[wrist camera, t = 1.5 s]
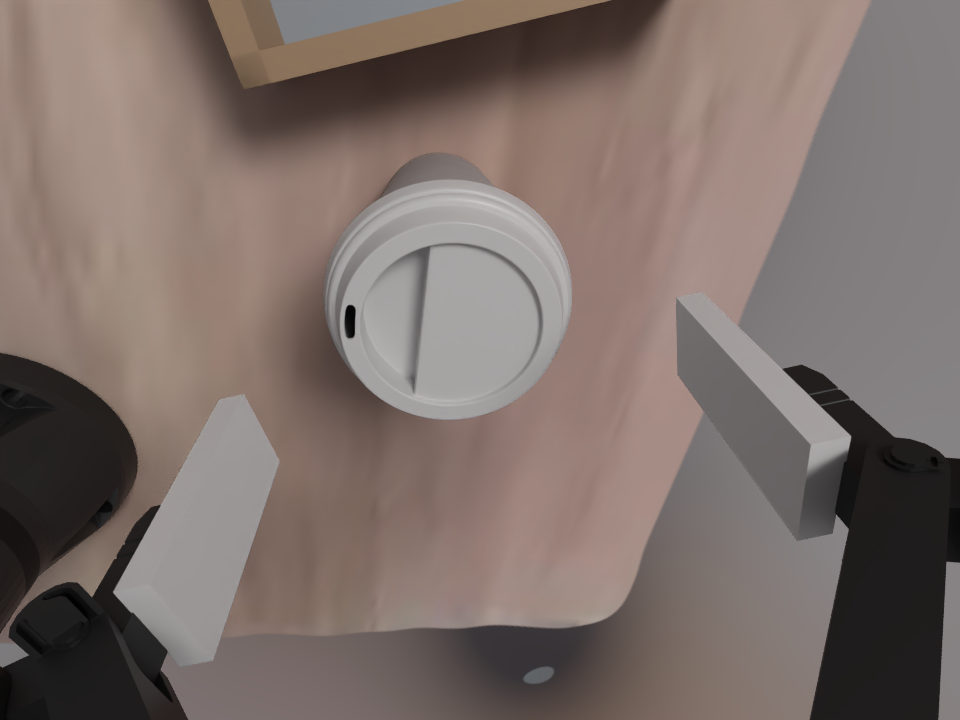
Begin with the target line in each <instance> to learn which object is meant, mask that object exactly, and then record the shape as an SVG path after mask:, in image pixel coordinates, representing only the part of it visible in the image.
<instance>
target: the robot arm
mask: <svg viewBox="0 0 960 720" xmlns="http://www.w3.org/2000/svg"><path fill="white" fill-rule="evenodd" d="M676 320H677V369H678V376H679V377H680V379H681V380H682V381H683V383H684V384H685V386H686V387H687V388H688V390H689V391H690V393H691V394H692V395H693V397H694V398H695V400H696V401H697V402H698V404H699V405H700V406H701V408H702V409H703V411H704V412H705V413H706V415H707V416H708V418H709V419H710V420H711V422H712V423H713V425H714V426H715V427H716V429H717V430H718V432H719V433H720V434H721V436H722V437H723V438H724V440H725V441H726V443H727V444H728V445H729V447H730V448H731V449H732V451H733V452H734V454H735V455H736V456H737V458H738V459H739V461H740V462H741V463H742V465H743V466H744V468H745V469H746V471H747V472H748V473H749V475H750V476H751V477H752V479H753V480H754V482H755V483H756V484H757V486H758V487H759V489H760V490H761V491H762V493H763V494H764V495H765V497H766V498H767V500H768V501H769V502H770V504H771V505H772V507H773V508H774V509H775V511H776V512H777V514H778V515H779V516H780V518H781V519H782V520H783V522H784V523H785V525H786V526H787V528H788V529H789V530H790V532H791V533H792V535H793V536H794V537H795V539H796V540H797V541H798V540H803V539H808V538H813V537H818V536H822V535H827V534H832V533H833V528H834V523H835V518H836V514H837V516H838V517H839V518H840V519H841V520H842V521H843V523H844V524H845V525H846V526H847V527H848V528H849V532H848V537H847V541H846V546H845V550H844V555H843V559H842V565H841V571H840V575H839V580H838V585H837V590H836V595H835V600H834V604H833V609H832V614H831V619H830V624H829V628H828V633H827V638H826V643H825V648H824V653H823V658H822V662H821V667H820V672H819V677H818V682H817V687H816V692H815V697H814V701H813V706H812V711H811V716H810V720H938V713H939V695H940V675H941V656H942V636H943V617H944V616H943V615H944V597H945V578H946V562H959V563H960V459H956V458H945V457H944V456H943V455H942V454H941V453H940V452H939V451H937V450H936V449H934V448H932V447H930V446H928V445H927V444H925V443H921V442H918V441H915V440H911V439H905V438H895V437H893V436H892V435H891V434H890V433H889V432H888V431H887V430H886V429H884V428H883V427H882V426H881V425H880V424H879V423H878V422H877V421H875V420H874V419H873V418H872V417H871V416H870V415H869V414H867V413H866V412H865V411H864V410H863V409H862V408H860V406H858V405H857V404H856V403H855V402H854V401H850V399H849V397H848V396H847V395H846V394H845V393H843V392H842V391H841V390H838V388H837V386H836V385H835V384H833V383H832V382H831V381H830V380H829V379H828V378H827V377H825V376H824V375H823V374H821V373H819V372H817V371H815V370H812V369H810V368H808V367H806V366H803V365H798V366H794V367H789V368H784V369H781V368H780V367H779V366H778V365H777V364H776V363H775V362H774V361H773V360H772V359H771V358H770V357H769V356H768V355H767V354H766V353H765V352H764V351H763V350H762V349H761V348H760V347H759V346H757V345H756V344H755V343H754V342H753V341H752V340H751V339H750V338H749V337H748V336H747V335H746V334H745V333H744V332H743V331H742V330H741V329H740V328H739V327H738V326H737V325H736V324H735V323H734V322H733V321H732V320H731V319H730V318H729V317H728V316H727V315H725V314H724V313H723V312H722V311H721V310H720V309H719V308H718V307H717V306H716V305H715V304H714V303H713V302H712V301H711V300H710V299H709V298H708V297H707V296H706V295H705V294H704V293H703V292H699V293H694V294H690V295H685V296H681V297H676ZM279 462H280V461H279V459H278V457H277V455H276V453H275V451H274V450H273V448H272V446H271V444H270V442H269V440H268V438H267V436H266V435H265V433H264V431H263V429H262V427H261V425H260V423H259V422H258V420H257V418H256V416H255V414H254V412H253V410H252V408H251V407H250V405H249V403H248V401H247V399H246V397H245V395H244V394H242V395H237V396H233V397H228V398H224V399H219V401H218V403H217V405H216V406H215V408H214V410H213V412H212V414H211V415H210V417H209V419H208V421H207V423H206V425H205V426H204V428H203V430H202V432H201V434H200V435H199V437H198V439H197V441H196V443H195V444H194V446H193V448H192V450H191V452H190V454H189V455H188V457H187V459H186V461H185V463H184V464H183V466H182V468H181V470H180V472H179V474H178V475H177V477H176V479H175V481H174V483H173V484H172V486H171V488H170V490H169V492H168V493H167V495H166V497H165V499H164V501H163V503H162V504H161V505H158V506H154V507H151V508H150V509H149V510H148V511H147V512H146V513H145V514H144V515H143V516H142V517H141V518H140V519H139V520H138V521H137V522H136V523H135V525H134V527H133V528H132V530H131V532H130V533H129V535H128V537H127V539H126V540H125V545H122V547H121V549H120V551H119V552H118V554H117V559H114V561H113V563H112V564H111V566H110V568H109V569H108V571H107V573H106V575H105V576H104V578H103V580H102V581H101V583H100V585H99V587H98V588H97V590H96V592H95V593H94V595H93V597H91V596H90V595H89V594H88V593H87V592H86V591H85V590H84V589H83V587H81V586H80V585H79V584H78V583H73V582H67V583H63V584H60V585H57V586H54V587H52V588H51V589H49V590H47V591H45V592H43V593H41V594H40V595H39V596H37V597H36V598H35V599H33V600H32V601H31V602H30V603H28V604H27V605H26V606H25V607H24V609H23V610H22V611H21V612H20V613H19V614H18V615H17V616H16V618H15V620H14V621H13V623H12V625H11V626H10V631H9V638H10V639H11V640H13V641H14V642H15V643H16V644H17V645H18V646H19V647H21V648H22V649H23V650H24V651H25V652H26V653H28V654H29V656H27V657H24V658H23V659H20V660H18V661H16V662H14V663H12V664H10V665H7V666H5V667H3V668H2V667H0V720H188V719H187V717H186V714H185V713H184V710H183V708H182V706H181V704H180V702H179V700H178V698H177V696H176V694H175V692H174V690H173V688H172V686H171V684H170V682H169V680H168V678H167V677H166V676H165V675H164V674H163V672H162V671H161V670H160V669H161V667H162V664H163V662H164V659H165V657H166V655H167V653H168V654H169V655H170V656H171V657H172V659H173V660H174V661H175V662H176V663H177V664H178V665H179V666H180V667H185V666H189V665H194V664H199V663H204V662H209V661H213V659H214V656H215V653H216V650H217V647H218V644H219V641H220V638H221V635H222V632H223V629H224V626H225V623H226V620H227V617H228V614H229V611H230V609H231V606H232V603H233V600H234V597H235V594H236V591H237V588H238V585H239V582H240V579H241V576H242V573H243V570H244V567H245V564H246V561H247V558H248V555H249V552H250V549H251V546H252V543H253V540H254V537H255V534H256V531H257V528H258V525H259V522H260V519H261V516H262V513H263V510H264V507H265V504H266V501H267V498H268V495H269V492H270V489H271V486H272V483H273V480H274V477H275V474H276V471H277V468H278V465H279ZM136 472H137V456H136V451H135V447H134V444H133V441H132V439H131V437H130V434H129V433H128V431H127V429H126V427H125V426H124V424H123V423H122V421H121V420H120V419H119V417H118V416H117V415H116V414H115V412H114V411H113V410H112V409H111V408H110V407H109V406H108V405H107V404H106V403H105V402H104V401H103V400H102V399H100V398H99V397H98V396H97V395H96V394H94V393H93V392H92V391H90V390H89V389H88V388H86V387H85V386H83V385H82V384H80V383H79V382H77V381H76V380H74V379H72V378H70V377H68V376H67V375H65V374H63V373H61V372H59V371H57V370H54V369H52V368H50V367H48V366H45V365H42V364H40V363H37V362H34V361H31V360H28V359H24V358H21V357H17V356H13V355H8V354H3V353H0V633H1V631H2V630H3V628H4V627H5V625H6V624H7V622H8V621H9V619H10V618H11V616H12V615H13V613H14V612H15V610H16V609H17V607H18V606H19V604H20V603H21V601H22V600H23V598H24V597H25V595H26V594H27V592H28V591H29V589H30V588H31V587H32V585H33V584H34V582H35V581H36V579H37V578H38V577H39V576H40V575H41V574H42V573H43V572H44V571H45V570H47V569H48V568H49V567H51V566H52V565H53V564H54V563H56V562H57V561H58V560H60V559H61V558H62V557H63V556H65V555H66V554H67V553H69V552H70V551H71V550H72V549H74V548H75V547H76V546H78V545H79V544H80V543H81V542H83V541H84V540H85V539H87V538H88V537H89V536H90V535H92V534H93V533H94V532H96V531H97V530H98V529H99V528H101V527H102V526H103V525H104V524H105V523H106V522H107V521H108V520H109V519H110V518H111V517H112V516H113V515H114V514H115V512H116V511H117V510H118V508H119V506H120V505H121V503H122V502H123V500H124V498H125V497H126V495H127V494H128V492H129V490H130V489H131V487H132V485H133V483H134V480H135V477H136Z"/></svg>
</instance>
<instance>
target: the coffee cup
mask: <svg viewBox="0 0 960 720" xmlns="http://www.w3.org/2000/svg"><path fill="white" fill-rule="evenodd" d="M323 302H324V311H325V316H326V321H327V324H328V328H329V331H330V334H331V337H332V340H333V342H334V344H335V346H336V348H337V350H338V352H339V354H340V355H341V357H342V359H343V360H344V361H345V363H346V364H347V366H348V367H349V368H350V370H351V371H352V372H353V373H354V374H355V375H356V377H357V378H358V379H359V380H360V381H361V382H362V383H363V384H364V385H365V386H366V387H367V388H368V389H369V390H370V391H371V392H372V393H373V394H375V395H376V396H377V397H379V398H380V399H381V400H383V401H384V402H386V403H388V404H389V405H391V406H393V407H395V408H397V409H399V410H402V411H404V412H407V413H409V414H413V415H416V416H420V417H425V418H430V419H440V420H457V419H466V418H472V417H477V416H481V415H484V414H488V413H491V412H493V411H496V410H498V409H500V408H502V407H504V406H506V405H508V404H510V403H512V402H513V401H515V400H516V399H518V398H519V397H521V396H522V395H523V394H525V393H526V392H527V391H528V390H529V389H530V388H531V387H532V386H533V385H534V384H535V383H536V382H537V381H538V380H539V379H540V378H541V376H542V375H543V374H544V372H545V371H546V370H547V368H548V366H549V365H550V363H551V361H552V359H553V358H554V356H555V355H556V353H557V351H558V349H559V347H560V345H561V343H562V341H563V338H564V336H565V333H566V330H567V327H568V323H569V319H570V313H571V304H572V281H571V274H570V269H569V265H568V261H567V258H566V255H565V253H564V250H563V248H562V246H561V244H560V242H559V240H558V238H557V237H556V235H555V234H554V232H553V231H552V229H551V228H550V227H549V225H548V224H547V223H546V222H545V221H544V219H543V218H542V217H541V216H540V215H539V214H538V213H537V212H535V211H534V210H533V209H532V208H531V207H529V206H528V205H527V204H525V203H524V202H523V201H521V200H520V199H518V198H516V197H515V196H513V195H511V194H509V193H507V192H505V191H503V190H500V189H498V188H495V186H494V185H493V184H492V183H491V182H490V181H489V180H488V179H487V178H486V177H485V176H484V175H483V173H482V172H481V171H480V170H479V169H478V168H477V167H475V166H474V165H473V164H472V163H470V162H469V161H467V160H465V159H463V158H461V157H458V156H455V155H452V154H447V153H431V154H426V155H422V156H419V157H417V158H415V159H413V160H411V161H409V162H408V163H406V164H405V165H404V166H403V167H401V168H400V169H399V170H398V171H397V173H396V174H395V175H394V177H393V178H392V180H391V181H390V183H389V185H388V186H387V188H386V189H385V191H384V193H383V194H382V196H381V198H380V199H378V200H377V201H375V202H374V203H372V204H371V205H370V206H368V207H367V208H366V209H365V210H363V211H362V212H361V213H360V214H359V215H358V216H357V217H356V218H355V219H354V220H353V221H352V222H351V223H350V224H349V226H348V227H347V228H346V229H345V231H344V232H343V234H342V235H341V237H340V238H339V240H338V242H337V243H336V245H335V247H334V249H333V251H332V254H331V256H330V259H329V262H328V265H327V269H326V273H325V278H324V287H323Z"/></svg>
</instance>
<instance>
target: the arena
mask: <svg viewBox="0 0 960 720" xmlns="http://www.w3.org/2000/svg"><path fill="white" fill-rule="evenodd" d="M208 1H209V4H210V7H211V9H212V12H213V14H214V17H215V19H216V22H217V24H218V27H219V29H220V32H221V34H222V37H223V40H224V42H225V45H226V47H227V50H228V52H229V55H230V57H231V60H232V62H233V65H234V68H235V70H236V73H237V75H238V78H239V80H240V83H241V85H242V88H243V90H245V89H249V88H253V87H257V86H261V85H265V84H270V83H274V82H278V81H282V80H286V79H290V78H294V77H298V76H302V75H306V74H311V73H315V72H319V71H323V70H327V69H331V68H335V67H339V66H343V65H347V64H352V63H356V62H360V61H364V60H368V59H372V58H376V57H380V56H384V55H388V54H393V53H397V52H401V51H405V50H409V49H413V48H417V47H421V46H425V45H429V44H434V43H438V42H442V41H446V40H450V39H454V38H458V37H462V36H466V35H470V34H475V33H479V32H483V31H487V30H491V29H495V28H499V27H503V26H507V25H511V24H516V23H520V22H524V21H528V20H532V19H536V18H540V17H544V16H548V15H552V14H557V13H561V12H565V11H569V10H573V9H577V8H581V7H585V6H589V5H593V4H598V3H602V2H606V1H610V0H208Z"/></svg>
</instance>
